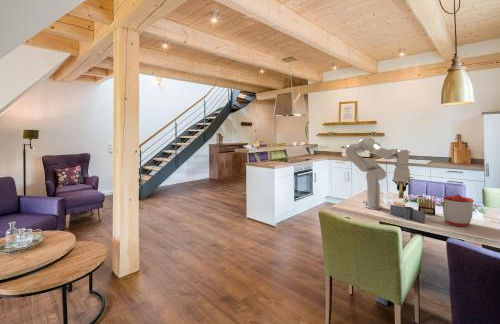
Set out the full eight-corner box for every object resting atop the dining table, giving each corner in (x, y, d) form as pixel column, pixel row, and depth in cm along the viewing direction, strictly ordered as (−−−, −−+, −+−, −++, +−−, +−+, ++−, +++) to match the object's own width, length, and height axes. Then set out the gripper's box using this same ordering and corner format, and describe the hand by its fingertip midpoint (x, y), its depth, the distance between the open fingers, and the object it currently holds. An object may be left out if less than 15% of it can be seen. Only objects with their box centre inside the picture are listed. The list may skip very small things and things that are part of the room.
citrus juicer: (439, 218, 181) (440, 190, 179) (472, 222, 170) (473, 193, 168) (438, 224, 169) (438, 194, 167) (473, 229, 158) (474, 198, 156)
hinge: (387, 215, 190) (387, 205, 190) (392, 213, 195) (392, 203, 194) (423, 223, 172) (424, 212, 171) (428, 220, 176) (428, 210, 176)
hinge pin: (397, 197, 193) (398, 179, 191) (399, 197, 195) (400, 178, 193) (402, 198, 190) (403, 180, 189) (404, 197, 192) (405, 179, 191)
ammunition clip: (417, 212, 195) (418, 197, 193) (418, 212, 196) (418, 196, 195) (434, 215, 187) (435, 199, 186) (435, 214, 188) (435, 198, 187)
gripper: (388, 165, 194) (387, 189, 196) (412, 167, 181) (411, 193, 183) (392, 164, 199) (392, 188, 201) (416, 166, 186) (415, 191, 188)
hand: (401, 190), depth 192 cm, fingers closed on hinge pin, 3 cm apart
